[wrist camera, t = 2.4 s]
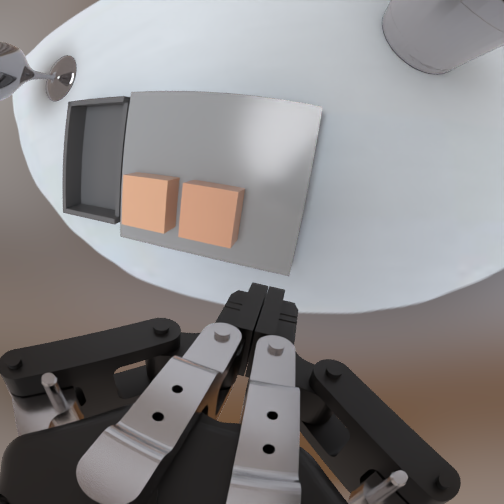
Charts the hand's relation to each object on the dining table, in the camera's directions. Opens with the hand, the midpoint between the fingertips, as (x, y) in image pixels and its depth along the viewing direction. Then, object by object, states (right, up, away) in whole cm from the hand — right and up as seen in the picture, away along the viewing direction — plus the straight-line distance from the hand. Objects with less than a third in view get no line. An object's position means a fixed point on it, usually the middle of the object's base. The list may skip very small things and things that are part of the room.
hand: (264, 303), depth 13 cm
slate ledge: (-4, +10, +16) cm, 19 cm away
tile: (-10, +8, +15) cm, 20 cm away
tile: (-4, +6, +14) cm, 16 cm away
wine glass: (-28, +27, +15) cm, 41 cm away
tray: (-18, +14, +17) cm, 29 cm away
